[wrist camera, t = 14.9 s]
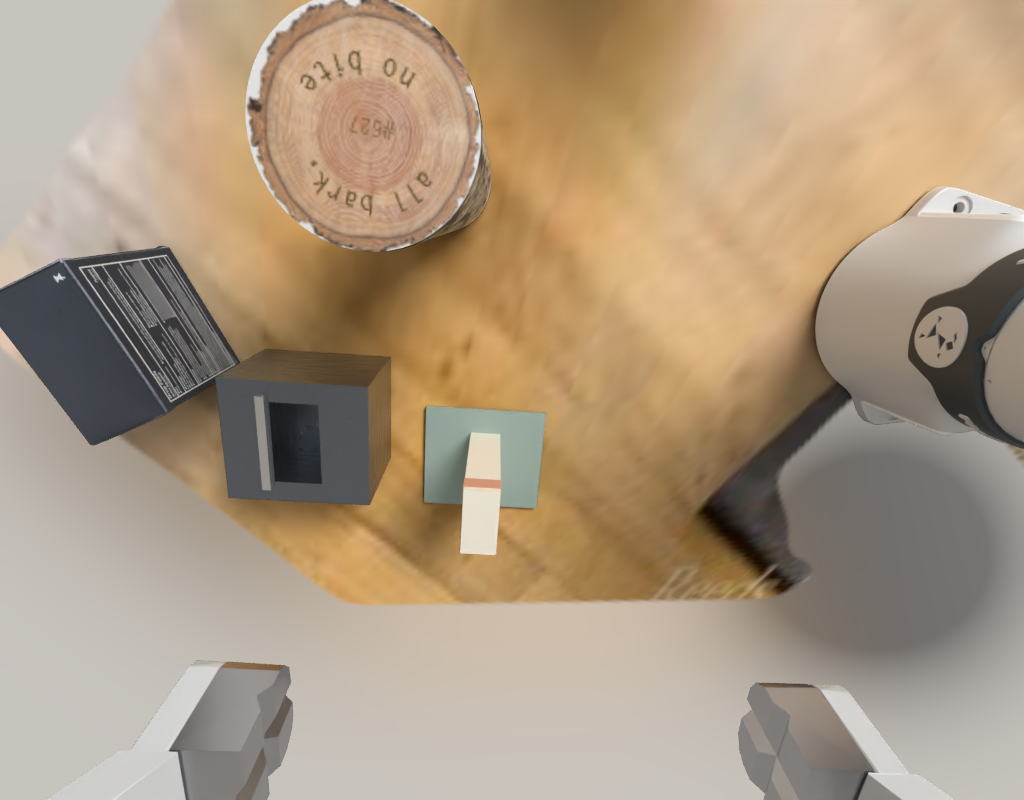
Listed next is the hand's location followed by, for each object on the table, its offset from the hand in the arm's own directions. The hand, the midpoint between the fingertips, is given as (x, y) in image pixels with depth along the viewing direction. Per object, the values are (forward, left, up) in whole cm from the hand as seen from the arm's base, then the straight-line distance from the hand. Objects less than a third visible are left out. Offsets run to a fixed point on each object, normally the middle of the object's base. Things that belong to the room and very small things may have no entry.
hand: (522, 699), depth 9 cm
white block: (+1, +12, -35) cm, 37 cm away
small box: (+26, +2, -35) cm, 44 cm away
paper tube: (+5, -10, -35) cm, 37 cm away
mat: (+1, +12, -35) cm, 37 cm away
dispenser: (+14, +8, -35) cm, 39 cm away
